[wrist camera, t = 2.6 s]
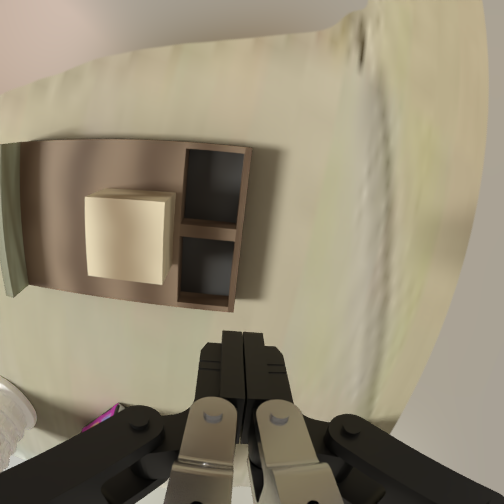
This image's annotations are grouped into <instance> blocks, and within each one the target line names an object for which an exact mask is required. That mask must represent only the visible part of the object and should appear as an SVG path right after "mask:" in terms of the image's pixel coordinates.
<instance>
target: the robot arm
mask: <svg viewBox="0 0 504 504" xmlns="http://www.w3.org/2000/svg"><path fill="white" fill-rule="evenodd" d="M239 438H240V440H241V444H248V452H249V453H248V458H247V466H248V472H249V479H250V485H251V491H252V497H253V503H254V504H504V497H503V496H502V495H501V494H499V493H497V492H495V491H493V490H491V489H489V488H487V487H484V486H483V485H481V484H479V483H476V482H474V481H472V480H471V479H469V478H467V477H465V476H463V475H461V474H459V473H457V472H455V471H453V470H451V469H449V468H447V467H445V466H444V465H441V464H440V463H438V462H436V461H434V460H433V459H431V458H429V457H427V456H425V455H424V454H422V453H420V452H418V451H417V450H415V449H413V448H411V447H409V446H408V445H406V444H404V443H403V442H401V441H399V440H397V439H396V438H394V437H393V436H391V435H389V434H388V433H386V432H384V431H383V430H381V429H379V428H378V427H376V426H374V425H373V424H371V423H370V422H368V421H366V420H365V419H363V418H361V417H359V416H357V415H353V414H342V415H339V416H336V417H335V418H333V419H332V420H331V422H330V423H329V422H324V421H319V420H314V419H311V418H308V417H306V416H304V415H303V414H302V413H301V411H300V409H299V408H298V407H297V406H296V405H294V403H293V399H292V394H291V390H290V385H289V381H288V376H287V371H286V367H285V362H284V358H283V355H282V353H281V352H280V351H279V350H278V349H277V348H276V347H274V346H264V339H263V333H254V332H243V335H242V332H237V331H222V344H221V343H209V342H208V343H207V344H206V345H205V346H204V347H203V348H202V350H201V354H200V362H199V370H198V377H197V385H196V393H195V400H194V402H193V404H192V405H191V407H190V408H188V409H187V410H186V411H184V412H182V413H179V414H174V415H167V416H161V415H160V413H158V412H157V411H156V410H155V409H153V408H151V407H148V406H142V405H135V406H130V407H127V408H125V409H123V410H122V411H120V412H118V413H116V414H115V415H113V416H111V417H109V418H107V419H106V420H104V421H102V422H100V423H98V424H97V425H95V426H93V427H91V428H89V429H87V430H86V431H84V432H82V433H80V434H78V435H76V436H74V437H73V438H71V439H69V440H67V441H65V442H63V443H61V444H59V445H57V446H55V447H53V448H51V449H49V450H47V451H45V452H43V453H41V454H39V455H37V456H35V457H33V458H31V459H29V460H27V461H25V462H23V463H21V464H18V465H16V466H14V467H12V468H10V469H8V470H6V471H3V472H1V473H0V504H135V503H136V502H138V501H139V500H141V499H142V498H144V497H145V496H146V495H147V494H149V493H150V492H152V491H153V490H155V489H156V488H157V487H159V486H160V485H162V484H163V483H164V482H165V481H167V479H168V478H169V477H170V478H169V482H168V486H167V491H166V495H165V499H164V504H231V498H232V484H233V462H234V452H235V445H236V444H239Z"/></svg>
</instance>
